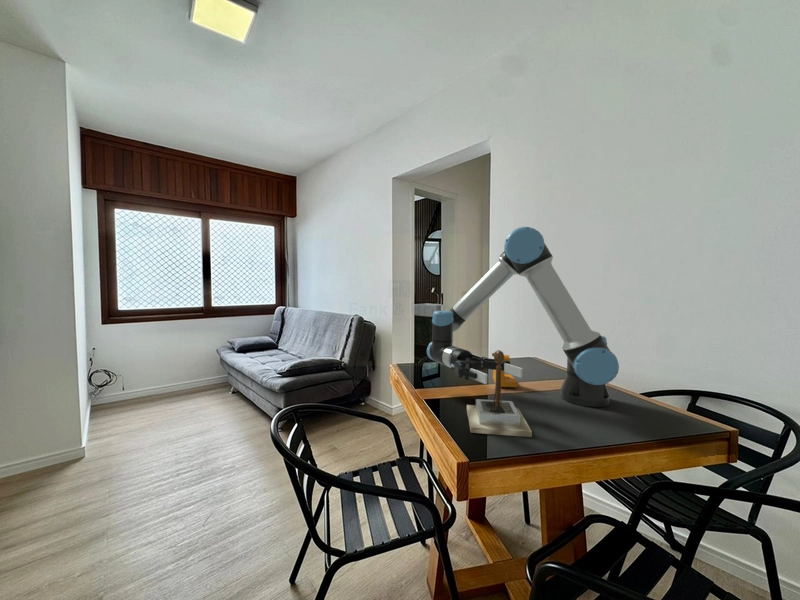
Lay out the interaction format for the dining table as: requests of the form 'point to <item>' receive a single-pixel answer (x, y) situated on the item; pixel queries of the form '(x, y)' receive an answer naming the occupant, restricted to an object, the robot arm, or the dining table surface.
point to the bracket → (506, 377)
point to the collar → (497, 418)
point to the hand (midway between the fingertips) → (504, 376)
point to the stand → (497, 429)
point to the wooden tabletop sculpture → (498, 383)
